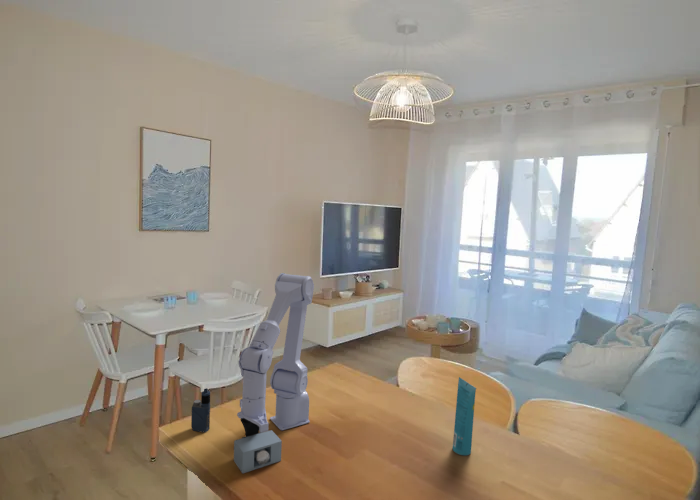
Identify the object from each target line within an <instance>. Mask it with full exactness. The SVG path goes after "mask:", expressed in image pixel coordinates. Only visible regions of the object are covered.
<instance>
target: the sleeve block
mask: <svg viewBox="0 0 700 500" xmlns="http://www.w3.org/2000/svg"><path fill="white" fill-rule="evenodd" d="M282 442H283V440H282V439H281V438H279V436H278V435H277V434H276V433H275V432H274V431H273V430H272V429H271V430H268V431H265V432H260V431H259V433H257V434H253V435H250V436H246V435H245V436H242V437H241V438H239V439H238V438H237V439H235V440H233V461H234V463H235V464H236V466H237V469H238V470H240V472H241V474H245V473H249V472H251V471H252V472H253V471H254V470H257V469H261V468H264V467H267V466H270V465H272V464H275V463H279V462H281V461H282V445H283V443H282ZM264 448H265V450H266V451H267V452H268V453H269V455H270V458H269V460H268V462H267V463H265V464H263V465H261V464H259V463H258V462H257V460H256V459H255V458H254V451H257V450H260V449H264Z"/></svg>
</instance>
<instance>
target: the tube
mask: <svg viewBox="0 0 700 500" xmlns="http://www.w3.org/2000/svg"><path fill="white" fill-rule="evenodd" d="M457 382H458V383H457V385H458V386H457V393H456V404H455V418H454V428H453V430H454V431H453V439H452V451H453V452H454V453H455V454H457V455H460V456H469V455H471V453H472V447H473V446H472V444H473V443H472V442H473V440H472V439H473V429H474V417H475V416H474V415H475V406H476V405H475V404H476V402H475V401H476V392H477V391H476V390H477V388H476V387H475V386H474V385H472V384H471V383H469V382H468V381H467V380H464V379H463V378H461V377H460V376H459V377H458V381H457Z"/></svg>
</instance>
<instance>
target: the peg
mask: <svg viewBox="0 0 700 500" xmlns="http://www.w3.org/2000/svg"><path fill="white" fill-rule="evenodd" d="M254 458H255V459H256V460H257V462H258V463H259V464H261V465H263V464H265V463H267V462H268V460H269V458H270V455H269V453H268V452H267V451H266V450H265V448H264V449H260V450H257V451H254Z"/></svg>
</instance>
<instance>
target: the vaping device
mask: <svg viewBox="0 0 700 500" xmlns="http://www.w3.org/2000/svg"><path fill="white" fill-rule="evenodd" d="M200 393H201V395H200V397H201V399H195V400H194V401H193V402H192V403H193V404H192V406H191V420H190V421H191V425H190V426H191V430H192V431H193V432H197V433H198V432H200V433H207V432H209V430H210V424H211V423H210V417H211V391H210V390H208V388H206V387H205V388H204V389H203V391H201V392H200Z"/></svg>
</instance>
